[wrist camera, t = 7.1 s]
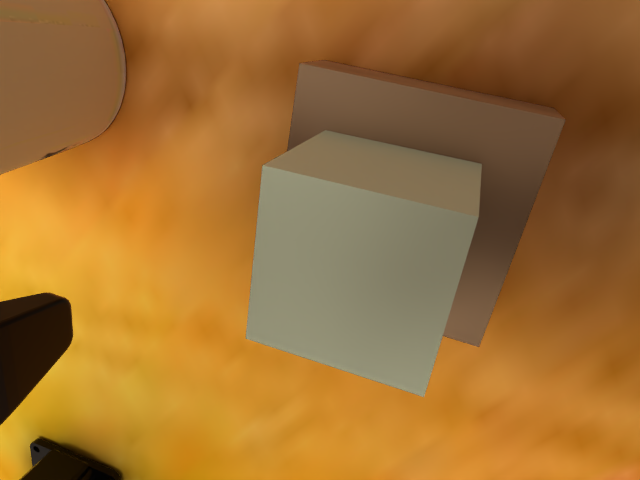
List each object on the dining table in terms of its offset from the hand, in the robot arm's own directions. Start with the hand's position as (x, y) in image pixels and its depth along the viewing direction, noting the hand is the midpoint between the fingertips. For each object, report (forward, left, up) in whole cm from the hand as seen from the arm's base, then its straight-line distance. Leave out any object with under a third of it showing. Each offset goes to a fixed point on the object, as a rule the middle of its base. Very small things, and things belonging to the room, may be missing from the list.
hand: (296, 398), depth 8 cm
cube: (0, 0, -9) cm, 9 cm away
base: (0, 0, -12) cm, 12 cm away
